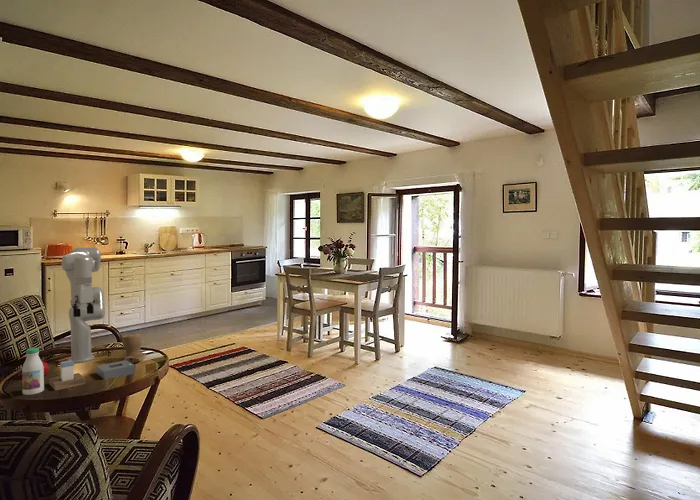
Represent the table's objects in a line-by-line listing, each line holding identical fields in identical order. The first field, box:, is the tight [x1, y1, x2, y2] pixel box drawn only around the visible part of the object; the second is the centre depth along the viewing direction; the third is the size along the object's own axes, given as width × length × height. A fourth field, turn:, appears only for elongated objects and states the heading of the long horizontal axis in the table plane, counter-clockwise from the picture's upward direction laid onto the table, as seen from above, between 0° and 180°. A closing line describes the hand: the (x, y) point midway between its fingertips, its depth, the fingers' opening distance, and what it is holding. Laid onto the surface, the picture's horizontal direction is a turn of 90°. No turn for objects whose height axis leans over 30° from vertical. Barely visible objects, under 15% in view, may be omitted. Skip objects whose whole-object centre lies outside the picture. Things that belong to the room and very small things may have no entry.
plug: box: [59, 360, 75, 382], centre depth 194 cm, size 3×5×11 cm
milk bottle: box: [21, 347, 45, 396], centre depth 184 cm, size 8×8×20 cm
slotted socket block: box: [48, 372, 87, 391], centre depth 194 cm, size 12×12×3 cm
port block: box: [96, 359, 136, 380], centre depth 210 cm, size 12×14×5 cm
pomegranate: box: [40, 358, 50, 377], centre depth 207 cm, size 10×10×9 cm
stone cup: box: [121, 332, 147, 364], centre depth 233 cm, size 15×12×15 cm
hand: (83, 315), depth 207 cm, fingers open, 9 cm apart
